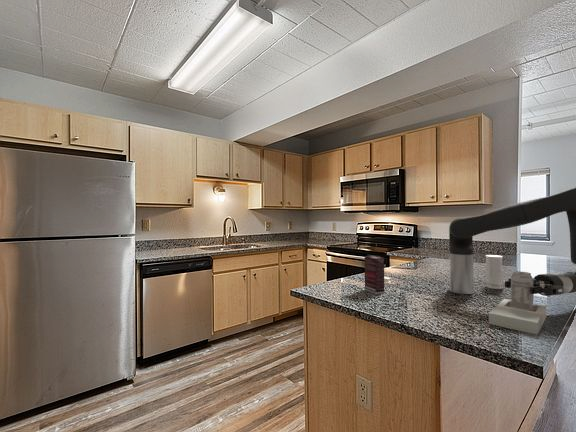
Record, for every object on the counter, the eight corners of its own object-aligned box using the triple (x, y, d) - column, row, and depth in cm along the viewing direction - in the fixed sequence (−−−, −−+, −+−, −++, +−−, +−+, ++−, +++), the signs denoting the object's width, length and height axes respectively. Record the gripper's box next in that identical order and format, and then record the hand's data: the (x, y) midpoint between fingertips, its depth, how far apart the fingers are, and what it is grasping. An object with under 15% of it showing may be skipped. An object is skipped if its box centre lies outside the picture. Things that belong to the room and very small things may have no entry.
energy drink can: (536, 317, 100) (536, 273, 100) (528, 320, 97) (528, 275, 97) (515, 312, 105) (515, 270, 105) (507, 315, 102) (507, 272, 102)
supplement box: (385, 293, 131) (384, 257, 131) (376, 294, 129) (376, 258, 129) (372, 288, 139) (372, 255, 139) (364, 290, 137) (363, 256, 137)
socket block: (488, 323, 95) (488, 312, 94) (504, 308, 110) (504, 298, 110) (537, 334, 86) (537, 322, 86) (546, 316, 101) (546, 306, 101)
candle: (481, 286, 143) (481, 255, 143) (493, 285, 144) (493, 254, 144) (494, 289, 136) (494, 257, 136) (506, 288, 138) (506, 256, 138)
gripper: (531, 270, 112) (498, 272, 107) (576, 277, 98) (540, 281, 94) (531, 289, 112) (498, 293, 108) (576, 300, 98) (540, 304, 94)
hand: (517, 287), depth 101 cm, fingers open, 8 cm apart
